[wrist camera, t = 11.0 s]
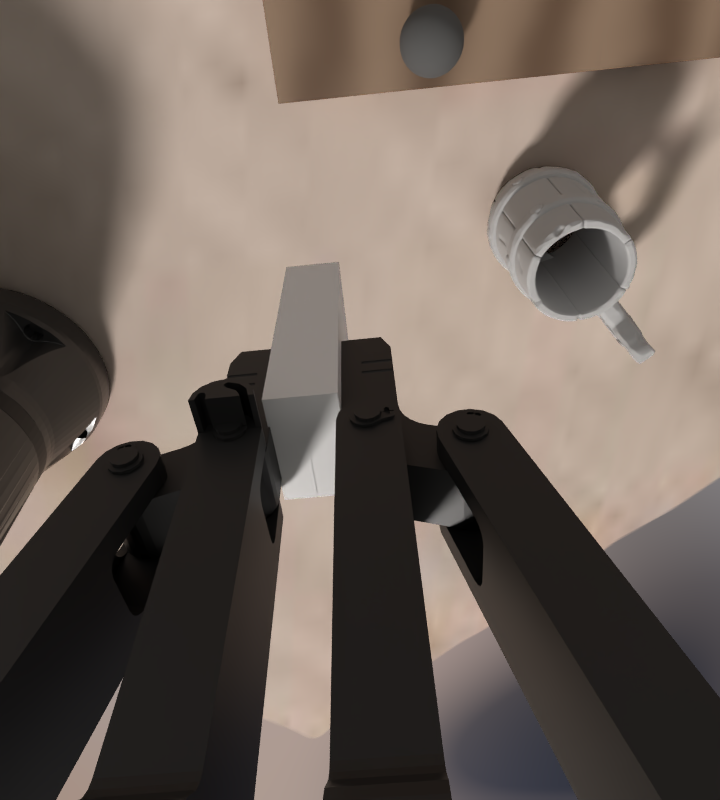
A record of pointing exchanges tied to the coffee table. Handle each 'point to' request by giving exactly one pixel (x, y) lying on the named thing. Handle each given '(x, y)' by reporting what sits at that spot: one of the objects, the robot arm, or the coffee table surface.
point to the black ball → (431, 41)
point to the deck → (478, 41)
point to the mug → (566, 251)
